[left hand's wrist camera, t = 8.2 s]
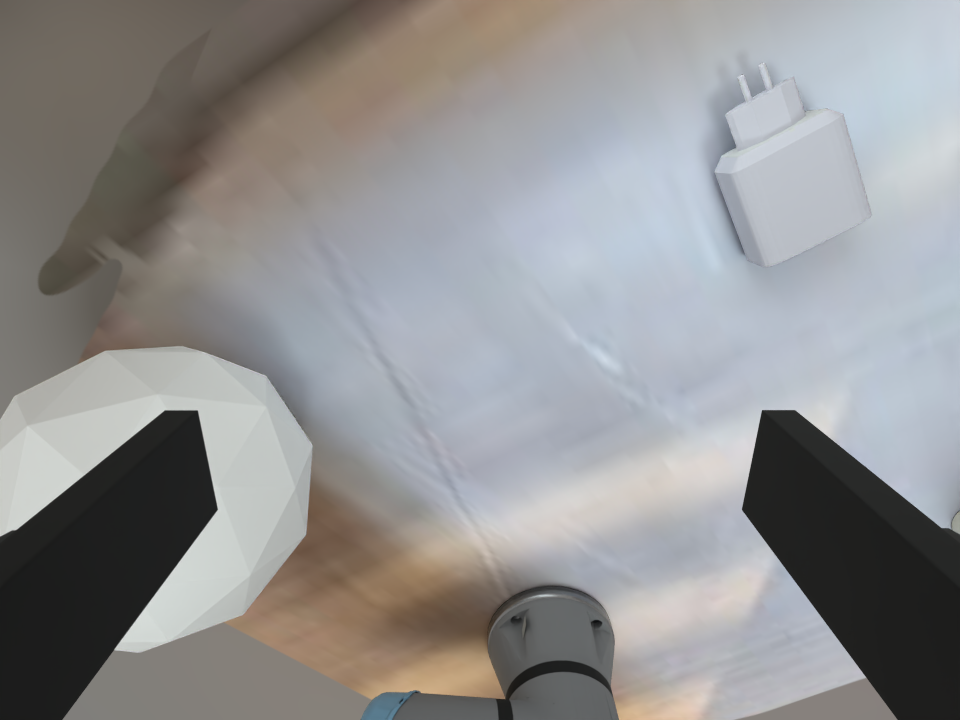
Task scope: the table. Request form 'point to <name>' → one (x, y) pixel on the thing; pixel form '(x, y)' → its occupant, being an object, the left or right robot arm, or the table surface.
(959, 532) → the bottle
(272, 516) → the decorative sphere
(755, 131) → the charger
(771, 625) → the table surface
